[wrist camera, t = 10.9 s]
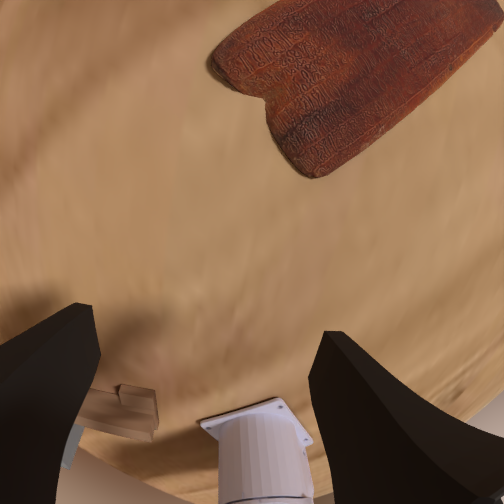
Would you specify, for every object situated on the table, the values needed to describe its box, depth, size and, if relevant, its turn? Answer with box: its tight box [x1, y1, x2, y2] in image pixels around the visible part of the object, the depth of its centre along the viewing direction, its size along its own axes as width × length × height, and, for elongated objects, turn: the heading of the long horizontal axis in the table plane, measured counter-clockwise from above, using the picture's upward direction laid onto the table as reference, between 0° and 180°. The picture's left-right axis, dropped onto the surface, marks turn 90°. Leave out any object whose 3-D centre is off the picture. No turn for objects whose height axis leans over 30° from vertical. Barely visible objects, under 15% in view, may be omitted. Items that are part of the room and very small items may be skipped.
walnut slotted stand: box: [74, 384, 159, 443], centre depth 20 cm, size 18×5×4 cm, turn 82°
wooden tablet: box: [211, 0, 504, 178], centre depth 12 cm, size 27×10×2 cm, turn 131°
